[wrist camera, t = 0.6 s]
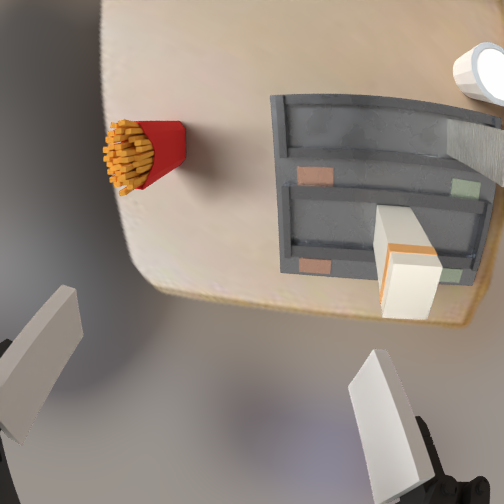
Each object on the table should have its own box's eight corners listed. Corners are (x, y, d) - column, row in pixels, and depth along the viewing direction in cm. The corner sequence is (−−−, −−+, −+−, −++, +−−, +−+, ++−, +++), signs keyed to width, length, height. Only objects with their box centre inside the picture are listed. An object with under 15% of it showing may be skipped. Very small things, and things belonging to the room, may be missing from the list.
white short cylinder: (476, 44, 18) (501, 35, 12) (502, 94, 20) (530, 96, 14) (438, 60, 22) (459, 51, 16) (465, 112, 23) (491, 115, 17)
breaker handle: (376, 204, 30) (392, 263, 19) (410, 206, 28) (443, 266, 17) (372, 245, 32) (381, 317, 21) (405, 247, 31) (427, 320, 20)
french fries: (186, 171, 38) (132, 199, 28) (163, 169, 39) (106, 196, 29) (186, 111, 34) (126, 119, 24) (161, 112, 35) (100, 122, 25)
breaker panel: (275, 96, 30) (223, 90, 17) (489, 116, 22) (569, 134, 9) (285, 261, 40) (251, 343, 27) (465, 273, 32) (503, 355, 19)
